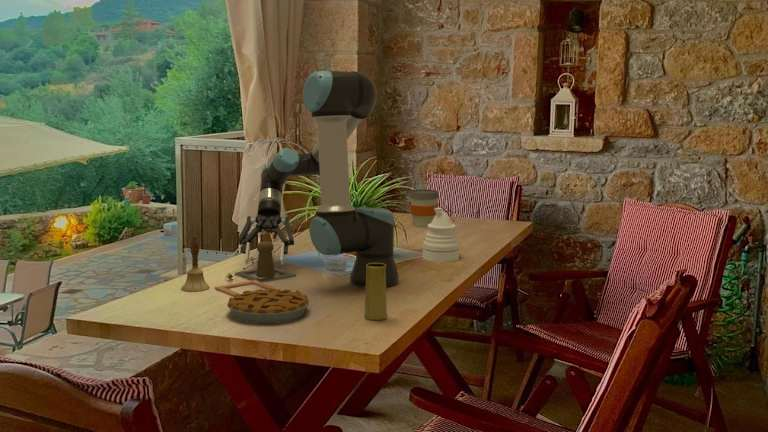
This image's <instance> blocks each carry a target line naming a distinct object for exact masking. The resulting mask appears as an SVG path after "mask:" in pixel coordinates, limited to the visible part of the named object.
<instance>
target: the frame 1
mask: <svg viewBox="0 0 768 432" xmlns="http://www.w3.org/2000/svg"><path fill="white" fill-rule="evenodd" d="M250 285H253V286H257V287H259V288H262V289H264V290H270V289H271V288H272V289H277V290H281V288H279V287H276V286H273V285H271V284H268V283H266V282H259V281H257V280H248V281H247V280H246V281H242V282H236V283H231V284H225V285H219V286H214V289H215V290H216V291H219V292H221V293H223V294H225V295H229V296H231V297H232V298H233V297H234V295H235V294H241V293H239V292H237V291H235V290H231V289H234V288H238V287H244V286H250Z"/></svg>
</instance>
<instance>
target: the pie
mask: <svg viewBox="0 0 768 432" xmlns="http://www.w3.org/2000/svg"><path fill="white" fill-rule="evenodd" d="M227 302H228V303H227V305H226V306H227V308H229V310H230V311H231V313H232V316H233V317H234V318H235V319H236V320H237V319H239V320H238V321H241V320H243V321H242V322H245V321H248V322H247V323H252V322H258V323H257V324H277V323H276V322H280V323H286V322H285V321H288V322H291V321H294V320H296V318H297V319H298V318H300V317H301V316H303V314H304V312H305V310H306V308H307V307H308V306H309V304H310V299H308V296H307V294H303V293H302V292H300V291H299V290H296V291H292V290H291V289H284V290H282V289H280V290H277V289H272V288H271V289H270V290H267V289H263V288H262V289H261V288H260V289H256V290H253V291H251V290H244V291H243V292H242V293H240V294H235V295H234V297H233V296H231V297H230V298H229V299H228V301H227ZM293 319H294V320H293ZM290 320H291V321H290Z"/></svg>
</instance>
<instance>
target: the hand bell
mask: <svg viewBox="0 0 768 432" xmlns="http://www.w3.org/2000/svg"><path fill="white" fill-rule="evenodd" d="M189 245H190V248H189V250H190V253H191V258H192V259H191V260H192V262H191V269H188V270H187V274H186V275H187V276H186V280H185V282H184V283H183V285H182V286H181V288H180V289H181V290H182V291H184V292H189V291H190V292H191V293H194V292H196V293H197V292H198V291H199V292H203V291H208V290H209V289H210V286H209V284H208V283H207V282H206V280H205V277H204V272H203V269H200V268H199V262H198V261H199V260H198V258H199V252H200V242H199V239H198V236H197V235H193V236H192V237H191V241H190V244H189ZM192 291H193V292H192ZM190 292H189V293H190Z"/></svg>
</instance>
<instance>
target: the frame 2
mask: <svg viewBox="0 0 768 432" xmlns="http://www.w3.org/2000/svg"><path fill="white" fill-rule="evenodd" d="M274 271H275V273H277V274H280V275H275V276H274V277H269V278H260V277H257V276H253V275H251V274H256V273H257V268H256V269H255V268H254V269H250V270H249V269H248V270H244V271H237V272H235V273H234V274H235V276H238V277H241V278H243V279H246V280H248V281H252V280H257V281H259V282H262V283H268V282H272V281H278V280H284V279H289V278H294V277H297V274H295V273H293V272H290V271H287V270H285V269H280V268H278V267H275V266H274Z"/></svg>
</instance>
